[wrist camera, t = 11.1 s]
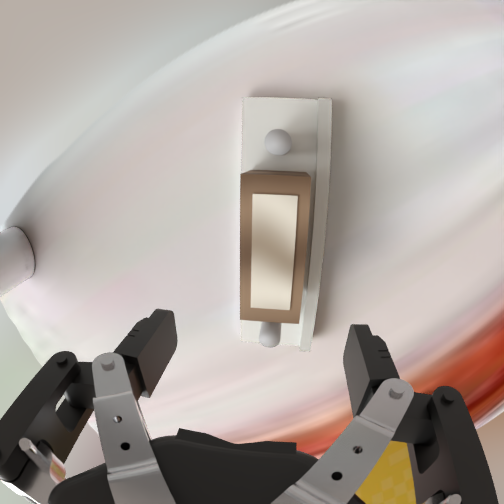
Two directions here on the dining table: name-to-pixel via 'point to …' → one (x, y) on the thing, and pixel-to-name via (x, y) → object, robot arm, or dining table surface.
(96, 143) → the dining table surface
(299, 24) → the dining table surface
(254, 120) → the board
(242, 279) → the frame
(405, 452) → the book
